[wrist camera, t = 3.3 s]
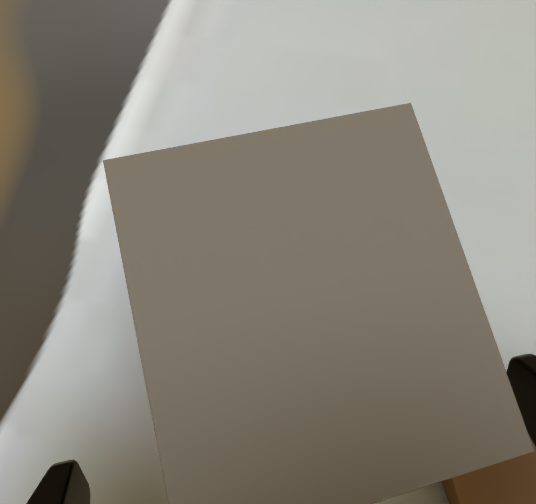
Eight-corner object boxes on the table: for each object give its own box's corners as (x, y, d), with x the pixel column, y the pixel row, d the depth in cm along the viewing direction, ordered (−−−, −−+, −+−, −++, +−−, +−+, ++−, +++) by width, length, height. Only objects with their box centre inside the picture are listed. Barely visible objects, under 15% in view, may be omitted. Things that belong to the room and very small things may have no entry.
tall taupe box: (210, 422, 18) (181, 566, 5) (183, 297, 19) (103, 160, 6) (321, 391, 18) (534, 451, 6) (289, 272, 19) (411, 102, 7)
